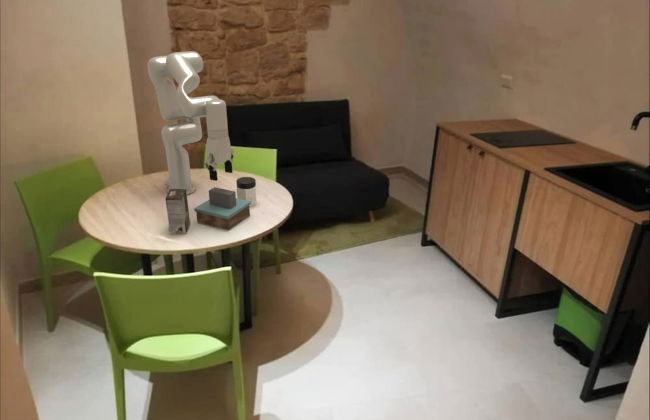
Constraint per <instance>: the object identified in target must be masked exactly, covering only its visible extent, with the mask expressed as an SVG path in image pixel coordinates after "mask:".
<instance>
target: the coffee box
mask: <svg viewBox="0 0 650 420" xmlns="http://www.w3.org/2000/svg"><path fill="white" fill-rule="evenodd" d="M188 201H189V200H188V195H187V192H186V189H170V190H169V192H167V195H166V197H165V205H166V212H167V213H166V215H167V221H168V229H169V235H187V234H188V231H189V228H190V226H191V221H190V211H189V202H188Z"/></svg>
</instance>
